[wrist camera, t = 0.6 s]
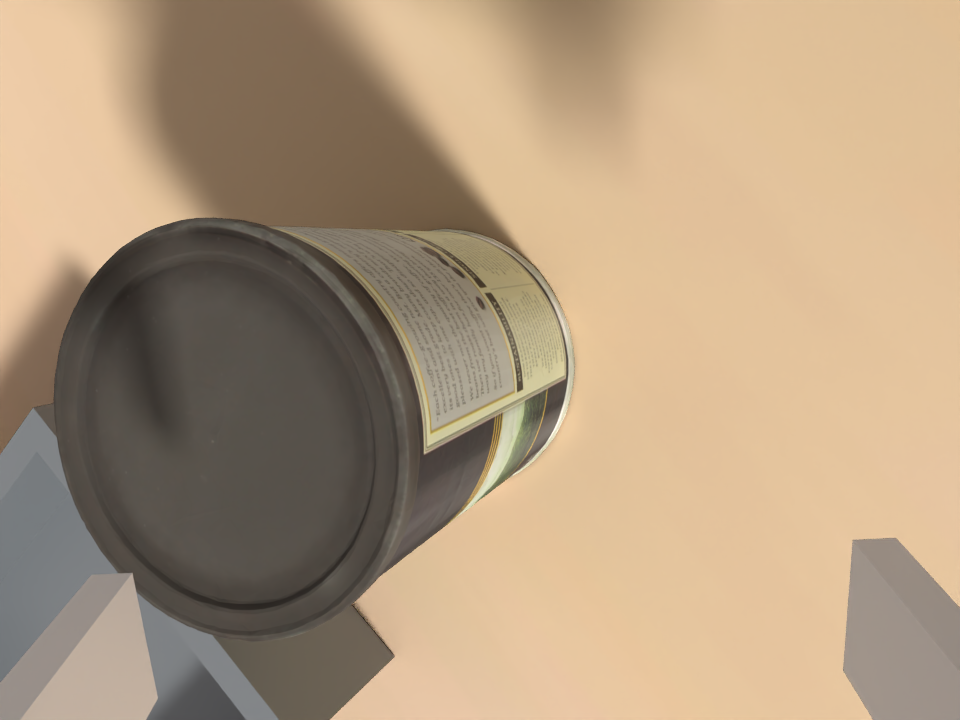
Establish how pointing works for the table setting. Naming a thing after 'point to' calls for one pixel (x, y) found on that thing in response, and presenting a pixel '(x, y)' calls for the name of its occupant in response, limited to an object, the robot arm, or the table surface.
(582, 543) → the table surface
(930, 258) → the table surface
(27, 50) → the table surface
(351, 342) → the coffee can
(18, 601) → the bin
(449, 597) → the table surface
